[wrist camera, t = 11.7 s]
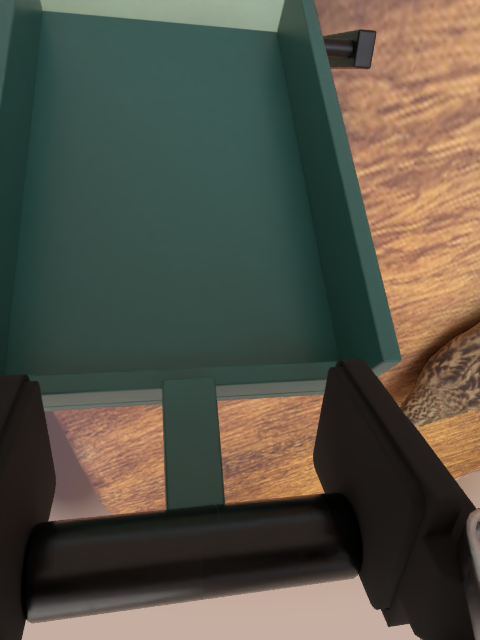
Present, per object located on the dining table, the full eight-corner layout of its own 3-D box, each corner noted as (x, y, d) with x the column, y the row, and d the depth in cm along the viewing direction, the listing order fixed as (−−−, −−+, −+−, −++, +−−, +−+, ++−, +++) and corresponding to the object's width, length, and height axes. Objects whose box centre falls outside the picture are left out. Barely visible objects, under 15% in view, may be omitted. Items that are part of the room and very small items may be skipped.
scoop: (386, 555, 12) (469, 569, 9) (-37, 611, 10) (-127, 653, 7) (285, 43, 19) (310, -51, 16) (32, 21, 17) (3, -89, 14)
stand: (284, 297, 34) (320, 358, 27) (32, 302, 30) (-3, 373, 23) (315, 41, 26) (377, 30, 19) (-17, 11, 23) (-90, -15, 16)
